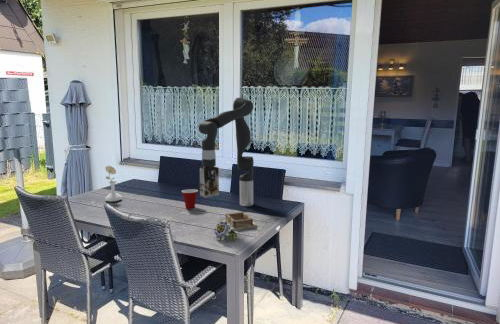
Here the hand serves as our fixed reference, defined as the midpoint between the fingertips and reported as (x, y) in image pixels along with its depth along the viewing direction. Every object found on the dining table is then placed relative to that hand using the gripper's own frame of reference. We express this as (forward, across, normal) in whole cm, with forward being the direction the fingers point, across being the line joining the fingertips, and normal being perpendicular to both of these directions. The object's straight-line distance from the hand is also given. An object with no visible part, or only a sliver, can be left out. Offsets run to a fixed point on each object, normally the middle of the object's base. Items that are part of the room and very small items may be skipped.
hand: (209, 186), depth 207 cm
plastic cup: (+24, -38, -3) cm, 45 cm away
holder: (+23, +4, +16) cm, 28 cm away
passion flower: (+23, +22, +2) cm, 32 cm away
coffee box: (+5, 0, 0) cm, 5 cm away
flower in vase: (+24, -76, -50) cm, 94 cm away
